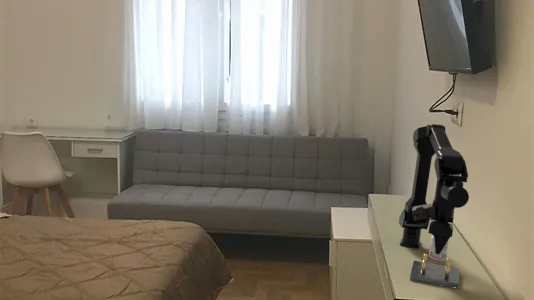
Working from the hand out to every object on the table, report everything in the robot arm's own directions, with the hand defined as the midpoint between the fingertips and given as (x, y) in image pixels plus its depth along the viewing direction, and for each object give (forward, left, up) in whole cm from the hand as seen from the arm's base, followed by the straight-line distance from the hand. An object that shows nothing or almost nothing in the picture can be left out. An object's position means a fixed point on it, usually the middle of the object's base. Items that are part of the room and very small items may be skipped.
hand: (437, 251), depth 170 cm
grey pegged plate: (0, 0, -8) cm, 8 cm away
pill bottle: (0, 0, -2) cm, 2 cm away
